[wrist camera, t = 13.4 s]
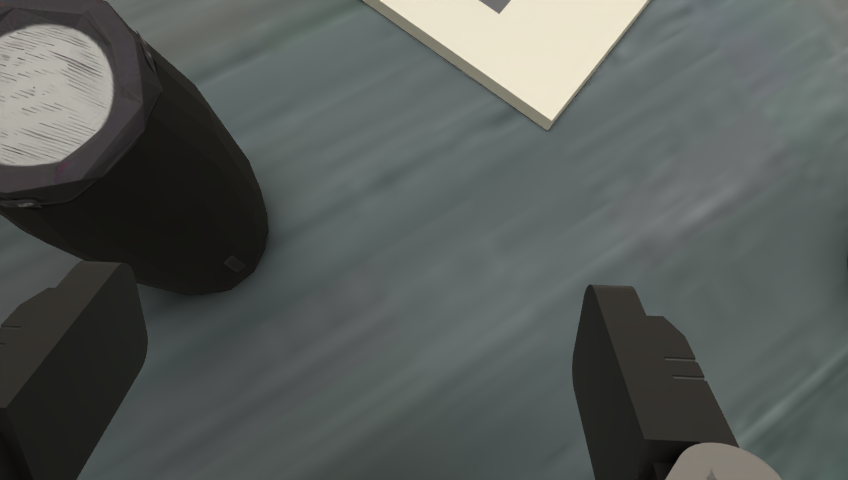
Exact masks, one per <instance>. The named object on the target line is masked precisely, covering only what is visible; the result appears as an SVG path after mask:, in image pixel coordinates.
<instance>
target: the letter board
mask: <svg viewBox="0 0 848 480" xmlns="http://www.w3.org/2000/svg"><path fill="white" fill-rule="evenodd" d="M362 1H364V2H365V3H366V4H368V5H369V6H371V7H372V8H373V9H375V10H376V11H378V12H379V13H381V14H382V15H383V16H385V17H386V18H388V19H389V20H391V21H392V22H393V23H395V24H396V25H398V26H399V27H401V28H402V29H403V30H405V31H406V32H408V33H409V34H410V35H412V36H413V37H415V38H416V39H418V40H419V41H420V42H422V43H423V44H425V45H426V46H428V47H429V48H430V49H432V50H433V51H435V52H436V53H437V54H439V55H440V56H442V57H443V58H445V59H446V60H447V61H449V62H450V63H452V64H453V65H455V66H456V67H457V68H459V69H460V70H462V71H463V72H464V73H466V74H467V75H469V76H470V77H472V78H473V79H474V80H476V81H477V82H479V83H480V84H482V85H483V86H484V87H486V88H487V89H489V90H490V91H492V92H493V93H494V94H496V95H497V96H499V97H500V98H501V99H503V100H504V101H506V102H507V103H509V104H510V105H511V106H513V107H514V108H516V109H517V110H519V111H520V112H521V113H523V114H524V115H526V116H527V117H528V118H530V119H531V120H533V121H534V122H536V123H537V124H538V125H540V126H541V127H543V128H544V129H546V130H547V131H548V129H549V128H550V127H551V126H552V124H553V123H554V122H555V121H556V119H557V118H558V117H559V116H560V114H561V113H562V112H563V111H564V109H565V108H566V107H567V105H568V104H569V103H570V102H571V100H572V99H573V98H574V97H575V95H576V94H577V93H578V92H579V90H580V89H581V88H582V87H583V85H584V84H585V83H586V82H587V80H588V79H589V78H590V77H591V75H592V74H593V73H594V71H595V70H596V69H597V68H598V66H599V65H600V64H601V63H602V61H603V60H604V59H605V58H606V56H607V55H608V54H609V53H610V51H611V50H612V49H613V48H614V46H615V45H616V44H617V43H618V41H619V40H620V39H621V37H622V36H623V35H624V34H625V32H626V31H627V30H628V29H629V27H630V26H631V25H632V24H633V22H634V21H635V20H636V19H637V17H638V16H639V15H640V14H641V12H642V11H643V10H644V8H645V7H646V6H647V5H648V3H649V2H650V1H651V0H362Z"/></svg>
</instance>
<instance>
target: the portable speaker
mask: <svg viewBox="0 0 848 480" xmlns="http://www.w3.org/2000/svg"><path fill="white" fill-rule="evenodd" d="M136 31H137V30H136ZM137 33H138V32H137ZM0 214H1V215H2V216H4V217H5V218H6V219H8V220H9V221H10V222H12V223H13V224H15V225H16V226H17V227H19V228H20V229H21V230H23V231H25V232H26V233H28V234H30V235H32V236H34V237H36V238H38V239H40V240H42V241H44V242H46V243H48V244H50V245H52V246H54V247H57V248H59V249H61V250H63V251H65V252H68V253H70V254H72V255H74V256H76V257H79V258H81V259H83V260H85V261H92V262H115V263H127V264H129V265H130V267H131V268H132V270H133V273H134V276H135V281H136V283H139V284H143V285H148V286H152V287H156V288H160V289H165V290H169V291H173V292H177V293H182V294H204V293H212V292H220V291H226V290H231V289H232V288H233V287H235V286H236V285H237V284H238V283H240V282H241V281H242V280H243V279H245V278H246V277H247V276H248V275H250V274H251V273H252V272H254V270H255V268H256V266H257V264H258V262H259V260H260V258H261V256H262V254H263V251H264V248H265V238H266V235H267V233H268V223H267V212H266V209H265V205H264V201H263V197H262V194H261V190H260V187H259V185H258V182H257V180H256V177H255V175H254V172H253V170H252V168H251V165H250V163H249V160H248V159H247V157H246V156H245V155H244V153H243V152H242V150H241V149H240V148H239V146H238V145H237V143H236V142H235V141H234V139H233V138H232V136H231V135H230V134H229V132H228V131H227V129H226V128H225V127H224V125H223V124H222V122H221V121H220V120H219V118H218V117H217V115H216V114H215V112H214V111H213V110H212V108H211V107H210V105H209V104H208V103H207V101H206V100H205V98H204V97H203V96H202V94H201V93H200V91H199V90H198V89H197V87H196V86H195V85H194V84H193V83H192V82H191V81H190V80H189V79H187V78H186V77H185V76H184V75H183V74H182V73H181V72H179V71H178V70H177V69H176V68H175V67H174V66H173V65H172V64H170V63H169V62H168V61H167V60H166V59H165V58H164V57H162V56H161V55H160V54H159V53H158V52H157V51H156V50H155V49H153V48H152V47H151V46H150V45H149V44H148V43H147V42H145V41H144V40H143V39H142V37H141V36H140V34H139V33H138V34H136V33H135V32H134V31H133V30H132V29H131V28H130V27H129V26H128V25H127V24H126V23H125V22H124V21H123V19H122V18H121V17H120V16H119V15H118V14H117V13H116V11H115V10H114V9H113V8H112V7H111V6H110V5H109V3H108V2H106V1H103V0H0Z"/></svg>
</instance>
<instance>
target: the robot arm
mask: <svg viewBox="0 0 848 480" xmlns="http://www.w3.org/2000/svg"><path fill="white" fill-rule="evenodd" d="M147 345H148V338H147V330H146V326H145V321H144V317H143V312H142V308H141V303H140V299H139V294H138V290H137V285H136V281H135V276H134V273H133V270H132V268H131V267H130V265H129V264H127V263H115V262H92V261H82V262H80V263H78V264H77V265H76V266H75V267H74V268H73V269H72V270H71V271H70V272H69V274H68V275H67V276H66V277H65V278H64V279H63V280H62V281H61V283H60V284H59V285H58V286H57V287H56V288H47V289H46V290H44V291H42V292H41V293H39V294H37V295H36V296H34V297H32V298H31V299H29V300H27V301H26V302H24V303H22V304H21V305H19V306H18V307H17V309H16V310H15V311H14V312H13V313H12V314H11V315H10V316H9V317H8V318H7V319H6V320H5V321H4V322H3V323H2V325H1V329H0V480H76V479H77V477H78V476H79V474H80V472H81V470H82V469H83V467H84V465H85V464H86V462H87V460H88V459H89V457H90V455H91V453H92V452H93V450H94V448H95V447H96V445H97V443H98V442H99V440H100V438H101V436H102V435H103V433H104V431H105V430H106V428H107V426H108V425H109V423H110V421H111V419H112V418H113V416H114V414H115V413H116V411H117V409H118V408H119V406H120V404H121V402H122V401H123V399H124V397H125V396H126V394H127V392H128V391H129V389H130V387H131V385H132V384H133V382H134V380H135V379H136V377H137V375H138V374H139V372H140V370H141V368H142V366H143V364H144V361H145V358H146V353H147ZM572 376H573V386H574V391H575V395H576V400H577V404H578V408H579V412H580V417H581V421H582V425H583V429H584V433H585V438H586V442H587V446H588V450H589V454H590V459H591V463H592V467H593V471H594V476H595V480H782V479H781V478H780V477H779V475H778V474H777V473H776V472H775V471H774V470H773V469H772V468H771V467H770V466H769V465H767V464H766V463H765V462H764V461H762V460H761V459H759V458H758V457H756V456H754V455H753V454H751V453H749V452H747V451H745V450H742V449H740V448H739V446H738V444H737V442H736V440H735V438H734V436H733V434H732V432H731V430H730V428H729V425H728V423H727V421H726V419H725V417H724V415H723V413H722V411H721V409H720V407H719V405H718V403H717V401H716V399H715V397H714V395H713V393H712V391H711V389H710V387H709V385H708V383H707V381H704V375H703V373H702V370H701V368H700V366H699V364H698V363H697V362H695V356H694V354H693V352H692V350H691V348H690V346H689V344H688V342H687V340H686V338H685V336H684V335H683V334H682V333H681V332H680V331H679V330H677V329H676V328H675V327H674V326H673V325H672V324H671V323H670V322H669V321H668V320H666V319H665V318H664V317H663V316H646V314H645V312H644V309H643V307H642V305H641V302H640V300H639V298H638V295H637V293H636V291H635V289H634V288H633V287H632V286H610V285H588V287H587V289H586V291H585V295H584V300H583V305H582V311H581V316H580V321H579V327H578V332H577V337H576V342H575V348H574V353H573V363H572Z"/></svg>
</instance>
